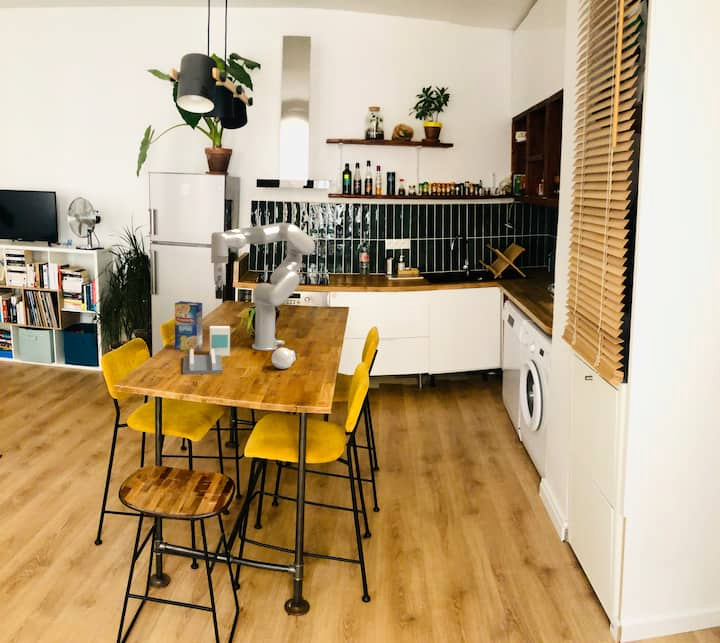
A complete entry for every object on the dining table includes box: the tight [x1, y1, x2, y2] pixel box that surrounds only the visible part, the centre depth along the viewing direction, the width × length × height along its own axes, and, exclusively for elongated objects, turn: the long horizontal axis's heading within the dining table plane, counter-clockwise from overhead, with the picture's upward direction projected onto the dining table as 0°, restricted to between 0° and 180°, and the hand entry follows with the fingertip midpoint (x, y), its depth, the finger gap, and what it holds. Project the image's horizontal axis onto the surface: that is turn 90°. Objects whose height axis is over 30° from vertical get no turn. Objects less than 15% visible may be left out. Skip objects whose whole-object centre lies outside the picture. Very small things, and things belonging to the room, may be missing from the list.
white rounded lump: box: [271, 347, 298, 370], centre depth 312 cm, size 9×10×15 cm
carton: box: [209, 325, 231, 357], centre depth 328 cm, size 5×9×13 cm, turn 103°
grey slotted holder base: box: [182, 349, 224, 375], centre depth 308 cm, size 16×26×4 cm, turn 13°
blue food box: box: [174, 300, 203, 352], centre depth 336 cm, size 7×11×22 cm, turn 80°
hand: (219, 297), depth 325 cm, fingers open, 9 cm apart
